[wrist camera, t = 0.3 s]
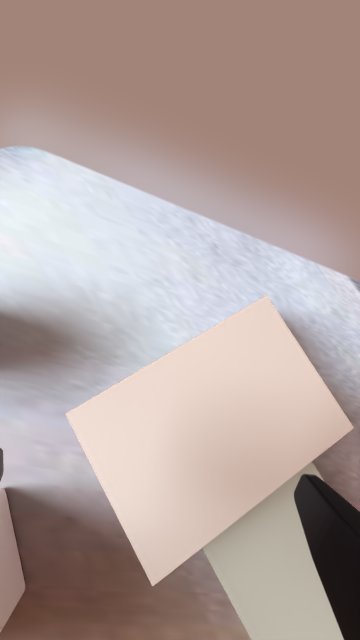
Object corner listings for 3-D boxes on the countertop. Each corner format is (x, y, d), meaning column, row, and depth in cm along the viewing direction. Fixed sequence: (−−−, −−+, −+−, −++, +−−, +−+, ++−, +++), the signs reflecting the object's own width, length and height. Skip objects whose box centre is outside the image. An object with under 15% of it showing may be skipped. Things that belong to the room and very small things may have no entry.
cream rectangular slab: (392, 614, 20) (432, 654, 18) (297, 712, 18) (324, 775, 16) (281, 434, 22) (300, 443, 20) (185, 505, 20) (190, 527, 18)
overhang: (307, 415, 23) (354, 428, 18) (152, 529, 20) (152, 586, 15) (241, 312, 24) (266, 295, 19) (87, 403, 21) (65, 413, 16)
